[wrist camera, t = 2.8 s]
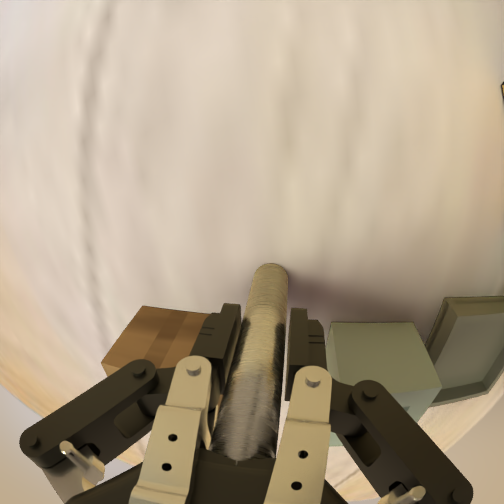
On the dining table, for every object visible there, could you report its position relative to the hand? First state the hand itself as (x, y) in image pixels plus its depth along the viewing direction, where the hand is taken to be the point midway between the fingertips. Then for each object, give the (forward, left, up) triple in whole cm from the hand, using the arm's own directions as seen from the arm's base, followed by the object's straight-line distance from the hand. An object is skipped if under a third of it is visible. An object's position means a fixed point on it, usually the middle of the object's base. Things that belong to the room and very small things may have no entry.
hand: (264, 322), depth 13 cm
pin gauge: (0, 0, -4) cm, 4 cm away
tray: (+6, +17, -4) cm, 18 cm away
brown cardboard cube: (+6, -6, -4) cm, 9 cm away
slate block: (+6, +7, -4) cm, 10 cm away
